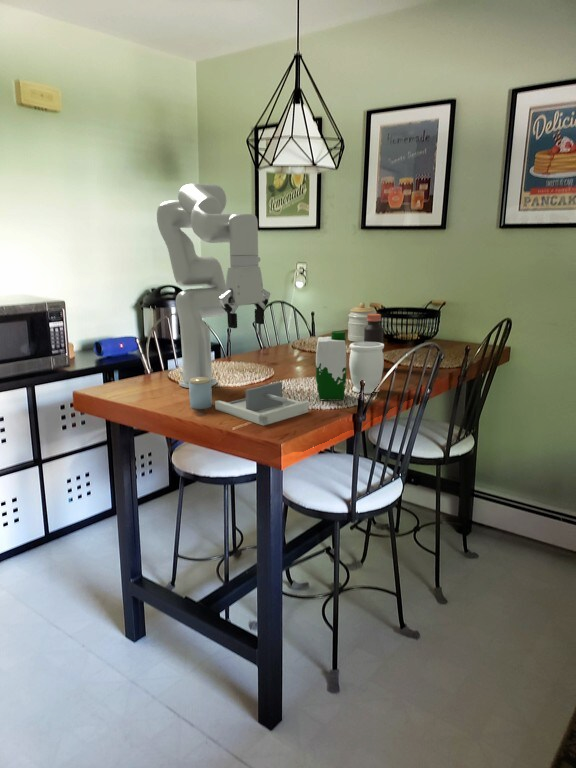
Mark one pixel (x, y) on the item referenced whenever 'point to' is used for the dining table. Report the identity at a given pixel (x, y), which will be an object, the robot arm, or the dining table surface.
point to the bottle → (373, 329)
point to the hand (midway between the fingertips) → (246, 325)
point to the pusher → (264, 397)
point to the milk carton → (331, 366)
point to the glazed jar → (200, 393)
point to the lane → (263, 411)
